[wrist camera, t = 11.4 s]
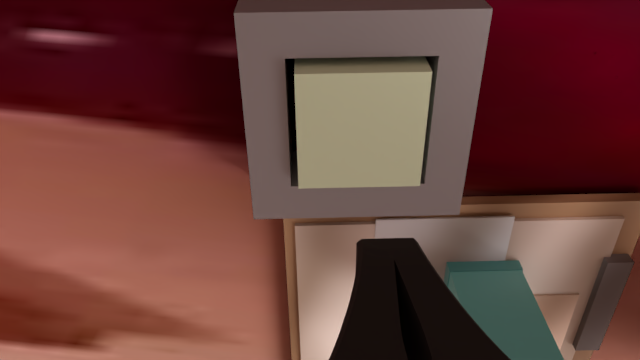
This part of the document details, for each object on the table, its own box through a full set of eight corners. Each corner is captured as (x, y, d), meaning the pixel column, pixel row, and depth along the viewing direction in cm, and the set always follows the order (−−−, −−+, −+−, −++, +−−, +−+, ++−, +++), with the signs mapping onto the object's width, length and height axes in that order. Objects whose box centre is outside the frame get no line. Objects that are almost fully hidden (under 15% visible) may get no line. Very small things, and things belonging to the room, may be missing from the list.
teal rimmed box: (518, 260, 25) (583, 395, 19) (506, 311, 27) (561, 448, 21) (446, 261, 25) (489, 397, 19) (438, 312, 27) (475, 450, 21)
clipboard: (646, 192, 24) (660, 209, 23) (578, 368, 31) (587, 386, 30) (282, 200, 24) (282, 217, 23) (293, 375, 31) (292, 393, 30)
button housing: (471, -14, 19) (492, 8, 17) (445, 178, 24) (459, 214, 21) (241, -10, 19) (233, 13, 17) (258, 182, 24) (253, 219, 21)
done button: (418, 43, 20) (432, 71, 18) (408, 149, 22) (419, 186, 20) (295, 45, 20) (294, 74, 17) (299, 151, 22) (298, 188, 20)
